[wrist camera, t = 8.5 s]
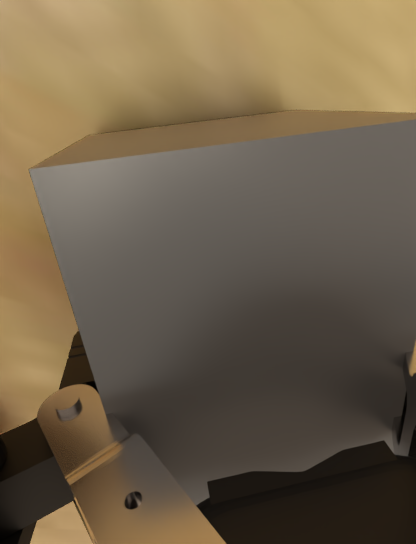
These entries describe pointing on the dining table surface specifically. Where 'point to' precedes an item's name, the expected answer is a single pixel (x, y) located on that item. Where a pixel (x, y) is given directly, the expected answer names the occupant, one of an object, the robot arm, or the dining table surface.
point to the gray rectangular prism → (242, 283)
